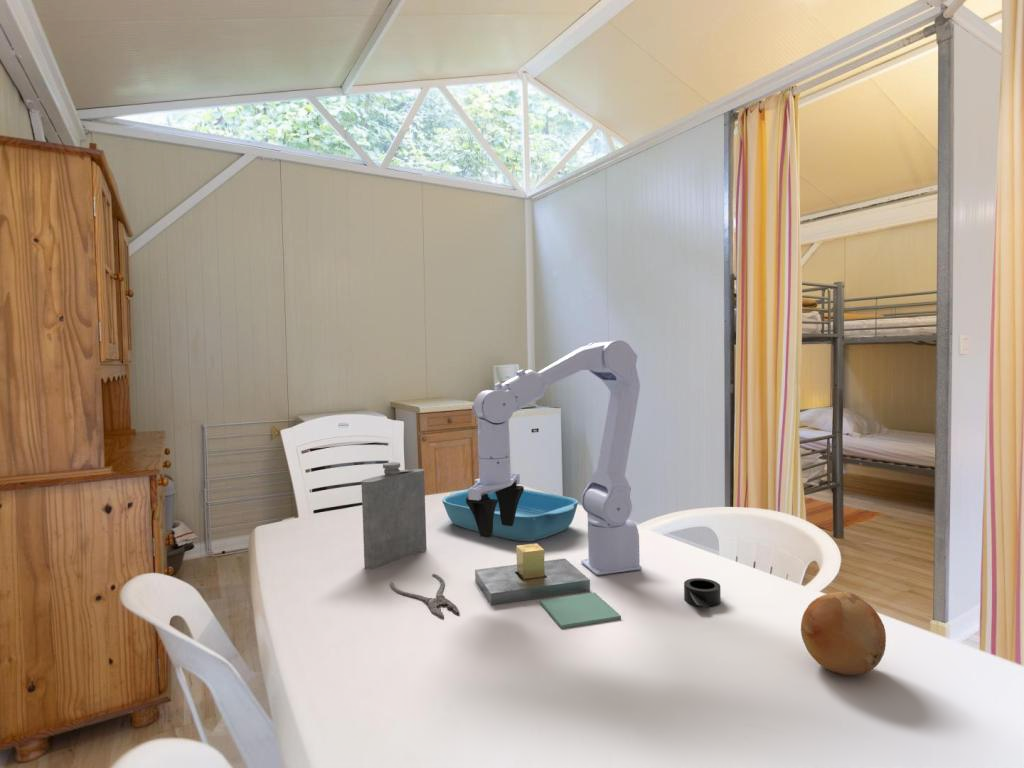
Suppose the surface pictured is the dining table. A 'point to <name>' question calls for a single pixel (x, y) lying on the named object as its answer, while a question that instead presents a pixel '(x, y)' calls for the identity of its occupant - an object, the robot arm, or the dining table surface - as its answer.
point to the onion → (843, 633)
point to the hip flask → (393, 515)
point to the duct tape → (702, 592)
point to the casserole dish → (518, 515)
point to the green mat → (579, 610)
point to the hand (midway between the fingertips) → (497, 530)
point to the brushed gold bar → (530, 562)
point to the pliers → (432, 599)
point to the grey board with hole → (530, 582)
